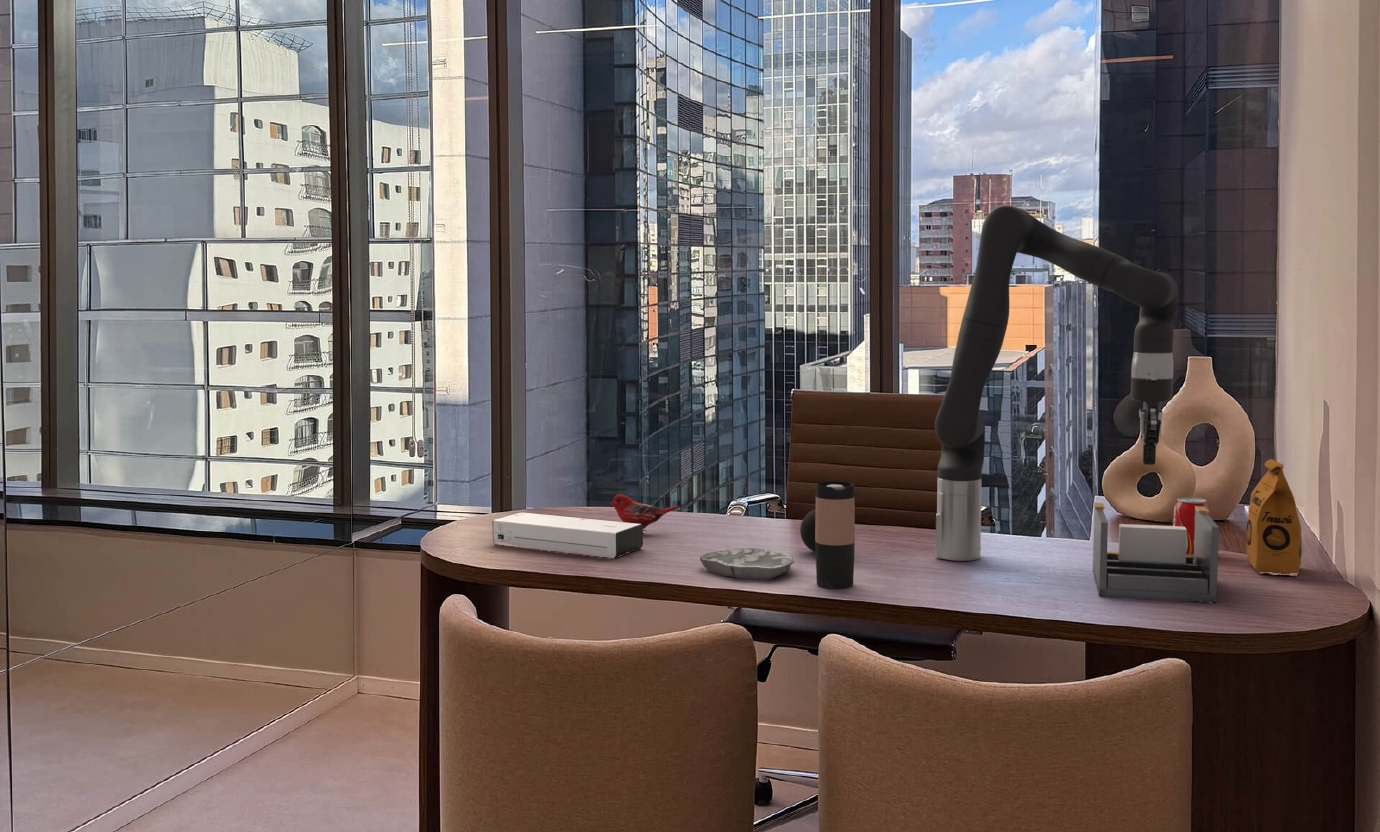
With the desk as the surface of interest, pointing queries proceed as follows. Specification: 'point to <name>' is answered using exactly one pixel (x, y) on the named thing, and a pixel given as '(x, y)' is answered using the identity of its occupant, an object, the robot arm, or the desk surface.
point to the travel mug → (835, 534)
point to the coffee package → (1273, 525)
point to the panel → (1152, 543)
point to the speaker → (809, 530)
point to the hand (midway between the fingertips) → (1148, 464)
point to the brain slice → (748, 563)
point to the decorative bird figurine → (638, 511)
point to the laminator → (568, 534)
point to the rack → (1158, 567)
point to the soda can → (1188, 518)
